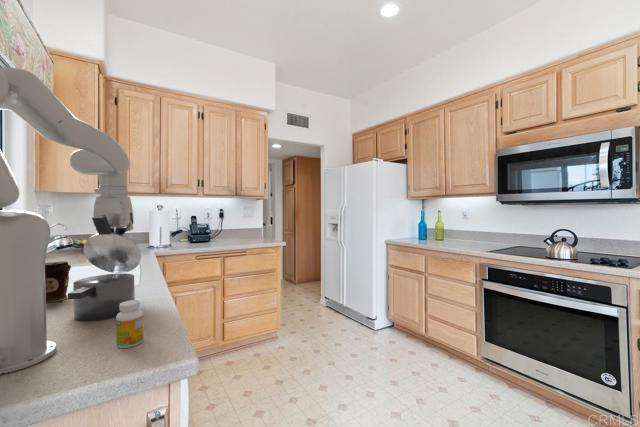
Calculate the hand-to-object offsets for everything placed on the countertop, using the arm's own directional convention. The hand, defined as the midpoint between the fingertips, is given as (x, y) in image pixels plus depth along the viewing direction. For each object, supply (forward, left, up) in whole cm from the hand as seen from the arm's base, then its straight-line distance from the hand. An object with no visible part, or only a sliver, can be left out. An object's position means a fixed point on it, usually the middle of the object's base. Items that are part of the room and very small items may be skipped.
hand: (115, 248), depth 95 cm
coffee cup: (+8, +24, -19) cm, 32 cm away
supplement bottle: (-29, -18, -19) cm, 39 cm away
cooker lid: (-3, 0, +1) cm, 4 cm away
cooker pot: (-8, 0, -19) cm, 20 cm away
